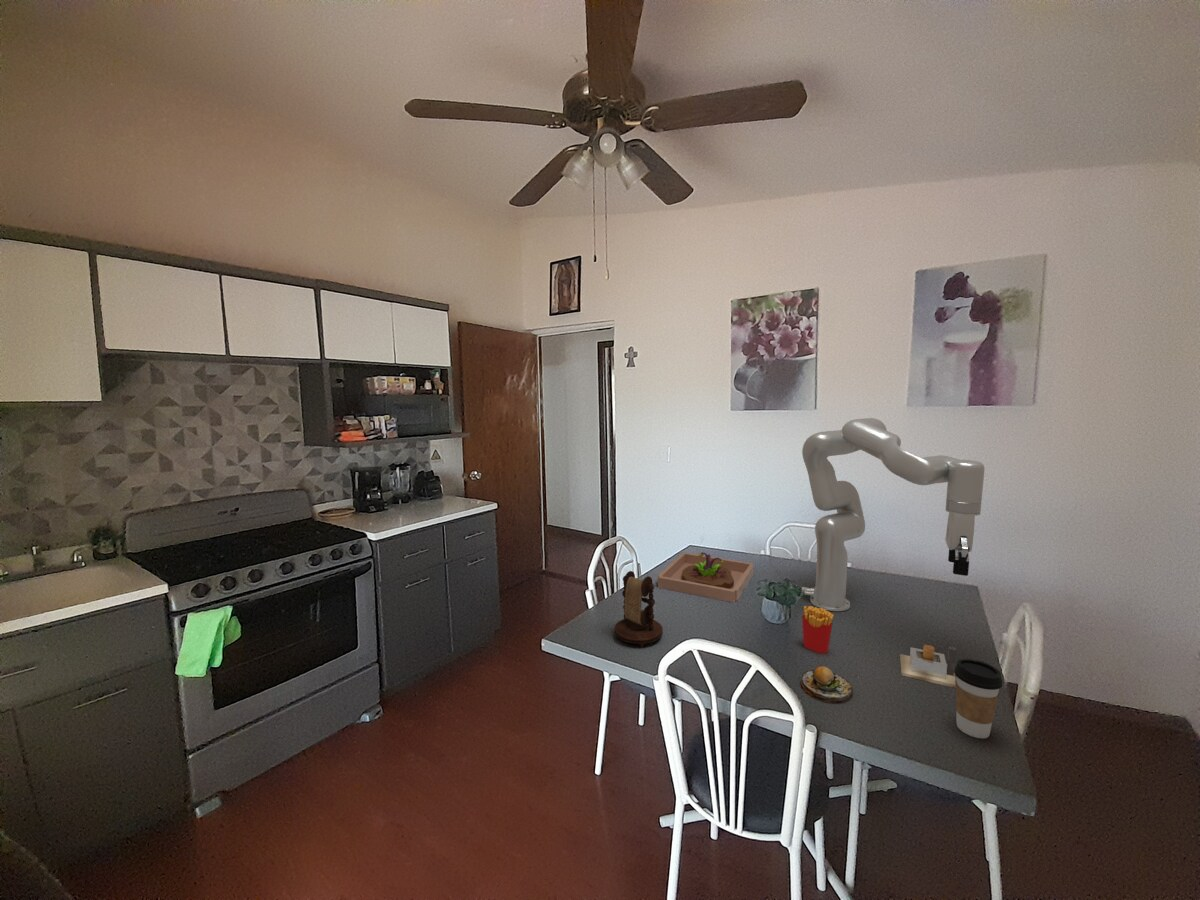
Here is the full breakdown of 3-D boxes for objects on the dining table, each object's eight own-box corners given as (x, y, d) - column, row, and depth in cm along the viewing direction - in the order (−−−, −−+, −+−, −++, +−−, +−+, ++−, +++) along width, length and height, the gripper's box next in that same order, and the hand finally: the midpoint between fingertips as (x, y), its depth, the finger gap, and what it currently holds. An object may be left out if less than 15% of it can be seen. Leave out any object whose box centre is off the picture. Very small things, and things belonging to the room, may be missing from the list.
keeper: (901, 675, 130) (903, 647, 129) (900, 656, 139) (901, 629, 138) (957, 688, 124) (959, 658, 123) (952, 667, 133) (954, 640, 132)
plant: (680, 569, 205) (681, 543, 203) (729, 570, 202) (729, 544, 201) (682, 589, 185) (682, 560, 184) (735, 591, 183) (736, 562, 181)
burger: (863, 700, 121) (864, 672, 120) (820, 708, 118) (821, 679, 117) (830, 672, 133) (832, 646, 131) (791, 678, 130) (792, 652, 129)
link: (911, 671, 131) (912, 658, 130) (909, 659, 136) (910, 647, 136) (945, 679, 127) (947, 666, 126) (943, 666, 133) (944, 654, 132)
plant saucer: (656, 588, 188) (656, 576, 188) (683, 562, 214) (683, 552, 214) (735, 604, 174) (736, 592, 173) (754, 574, 200) (754, 563, 199)
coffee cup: (940, 717, 114) (945, 657, 112) (974, 715, 115) (980, 654, 112) (970, 744, 106) (976, 679, 103) (1007, 741, 106) (1014, 676, 104)
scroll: (604, 637, 152) (603, 575, 149) (633, 619, 163) (633, 561, 160) (643, 654, 142) (643, 588, 140) (671, 634, 153) (672, 572, 151)
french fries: (799, 645, 146) (800, 606, 144) (805, 640, 148) (807, 602, 147) (828, 656, 139) (830, 616, 138) (834, 651, 142) (836, 612, 140)
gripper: (942, 498, 141) (937, 556, 143) (950, 513, 126) (944, 577, 128) (975, 500, 137) (969, 560, 139) (986, 516, 122) (980, 582, 124)
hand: (957, 568), depth 134 cm, fingers open, 9 cm apart
